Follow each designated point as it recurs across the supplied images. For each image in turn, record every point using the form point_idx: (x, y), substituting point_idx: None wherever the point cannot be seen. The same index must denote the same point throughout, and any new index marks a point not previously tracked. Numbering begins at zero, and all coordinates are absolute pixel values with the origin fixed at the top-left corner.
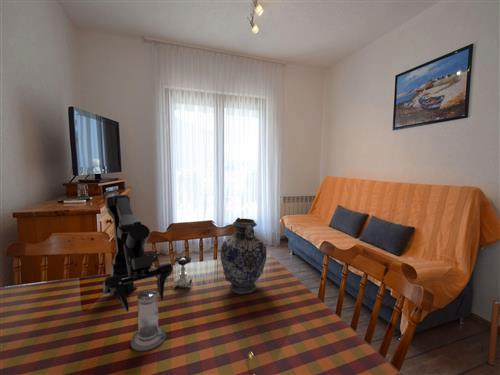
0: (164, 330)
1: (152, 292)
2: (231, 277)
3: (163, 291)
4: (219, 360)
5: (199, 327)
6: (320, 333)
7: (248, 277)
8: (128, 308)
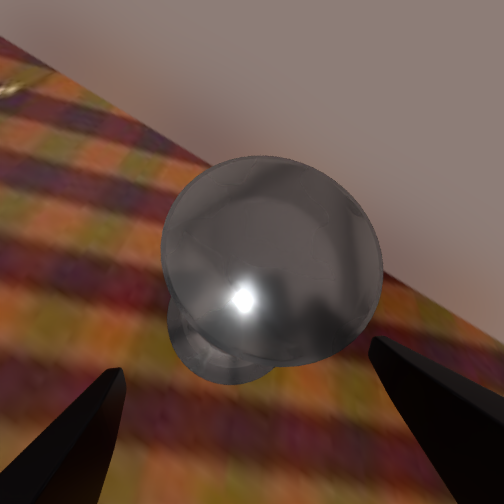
0: (169, 318)
1: (219, 272)
2: None
3: (42, 433)
4: (90, 121)
5: (34, 269)
6: None
7: None
8: (383, 341)
